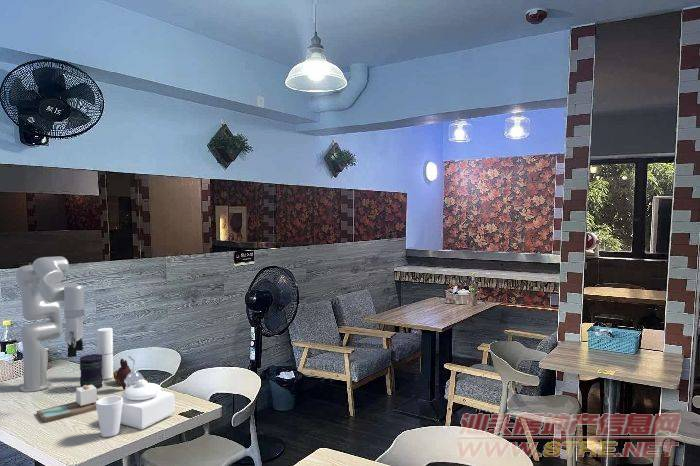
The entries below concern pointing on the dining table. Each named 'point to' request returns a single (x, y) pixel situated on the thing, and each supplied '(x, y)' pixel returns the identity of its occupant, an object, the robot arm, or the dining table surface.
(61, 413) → the post stand
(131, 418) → the butter dish
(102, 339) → the cylindrical container
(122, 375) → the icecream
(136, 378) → the cup with straw
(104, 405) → the foam cup
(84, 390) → the white cube with handle
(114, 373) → the hot dog
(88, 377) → the storage jar
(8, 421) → the dining table surface
